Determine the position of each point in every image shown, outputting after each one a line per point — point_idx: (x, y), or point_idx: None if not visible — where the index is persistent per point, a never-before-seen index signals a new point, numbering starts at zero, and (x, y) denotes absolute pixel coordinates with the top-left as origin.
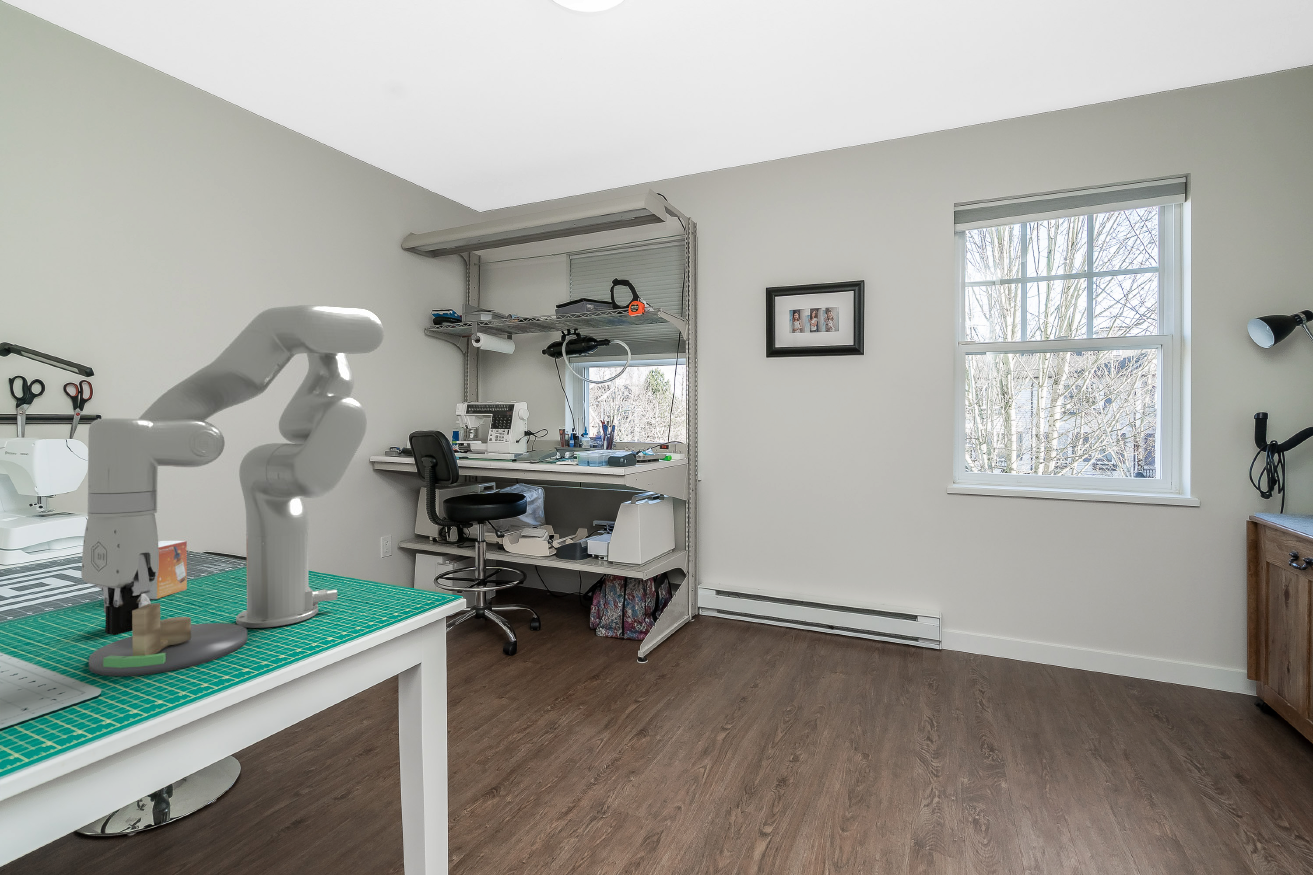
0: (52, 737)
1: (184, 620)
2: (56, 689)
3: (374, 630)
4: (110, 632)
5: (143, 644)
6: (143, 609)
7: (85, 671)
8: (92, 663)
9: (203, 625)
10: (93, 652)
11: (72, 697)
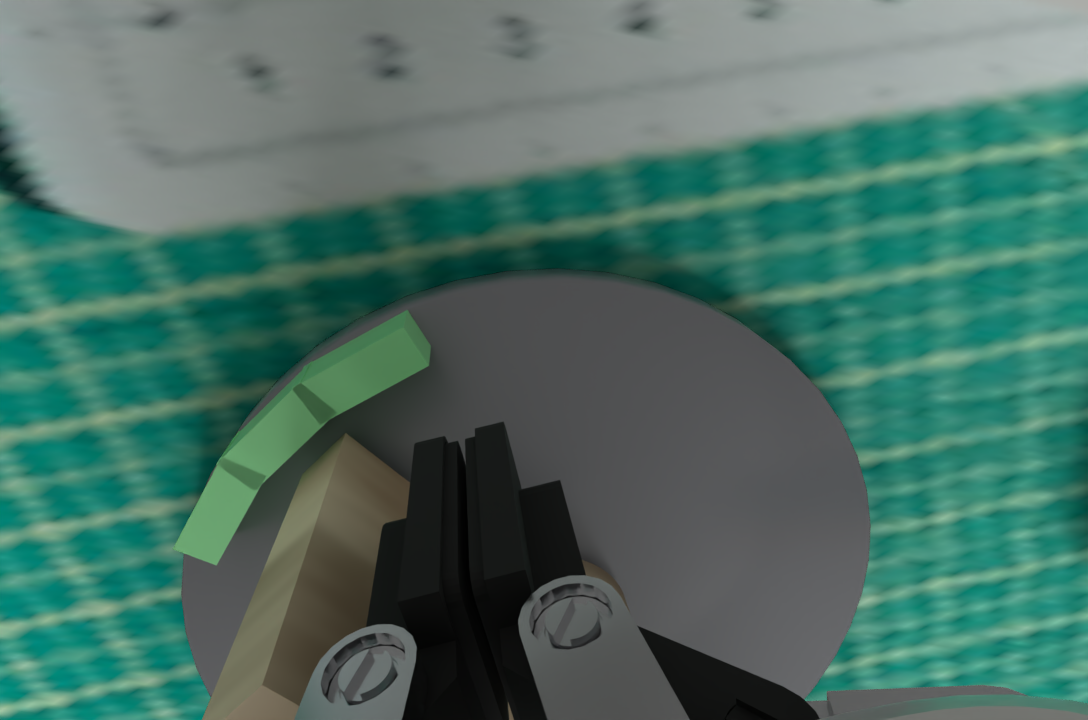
0: None
1: None
2: (357, 71)
3: None
4: (432, 441)
5: (281, 525)
6: None
7: (573, 250)
8: (533, 284)
9: None
10: (752, 333)
11: (114, 95)
